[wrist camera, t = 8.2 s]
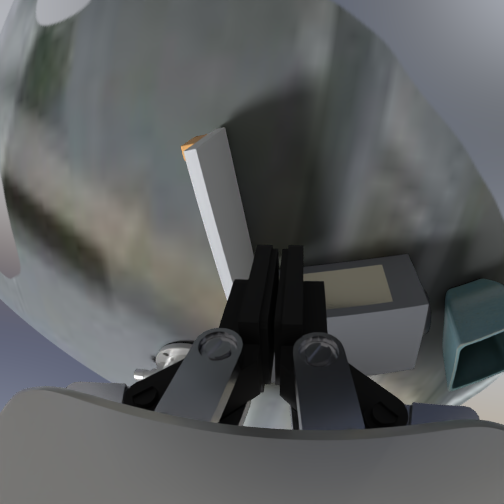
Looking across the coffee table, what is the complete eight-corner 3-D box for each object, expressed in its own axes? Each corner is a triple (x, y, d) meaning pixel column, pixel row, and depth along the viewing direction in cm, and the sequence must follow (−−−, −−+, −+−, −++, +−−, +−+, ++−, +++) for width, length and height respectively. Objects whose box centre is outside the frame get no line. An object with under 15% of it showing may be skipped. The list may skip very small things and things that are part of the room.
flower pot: (489, 313, 28) (513, 368, 21) (431, 333, 31) (447, 393, 24) (497, 259, 24) (534, 316, 17) (430, 280, 27) (457, 346, 20)
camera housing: (266, 333, 35) (256, 387, 28) (246, 273, 30) (231, 329, 24) (411, 317, 30) (425, 371, 24) (419, 252, 26) (444, 307, 19)
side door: (256, 268, 29) (243, 320, 23) (238, 269, 30) (222, 320, 24) (224, 127, 22) (196, 148, 16) (203, 131, 22) (168, 154, 17)
